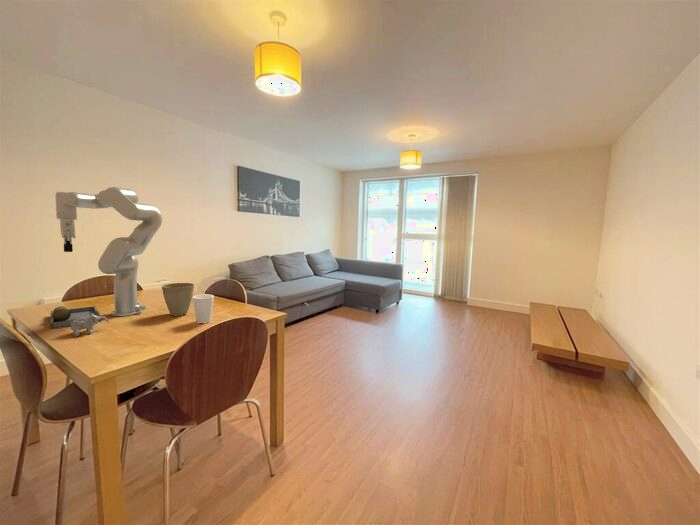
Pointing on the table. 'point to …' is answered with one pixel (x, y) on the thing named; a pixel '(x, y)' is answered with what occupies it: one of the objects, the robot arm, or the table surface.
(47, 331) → the table surface
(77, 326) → the gray elephant figurine
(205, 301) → the foam cup
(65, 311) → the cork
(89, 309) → the tray
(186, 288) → the plant pot
